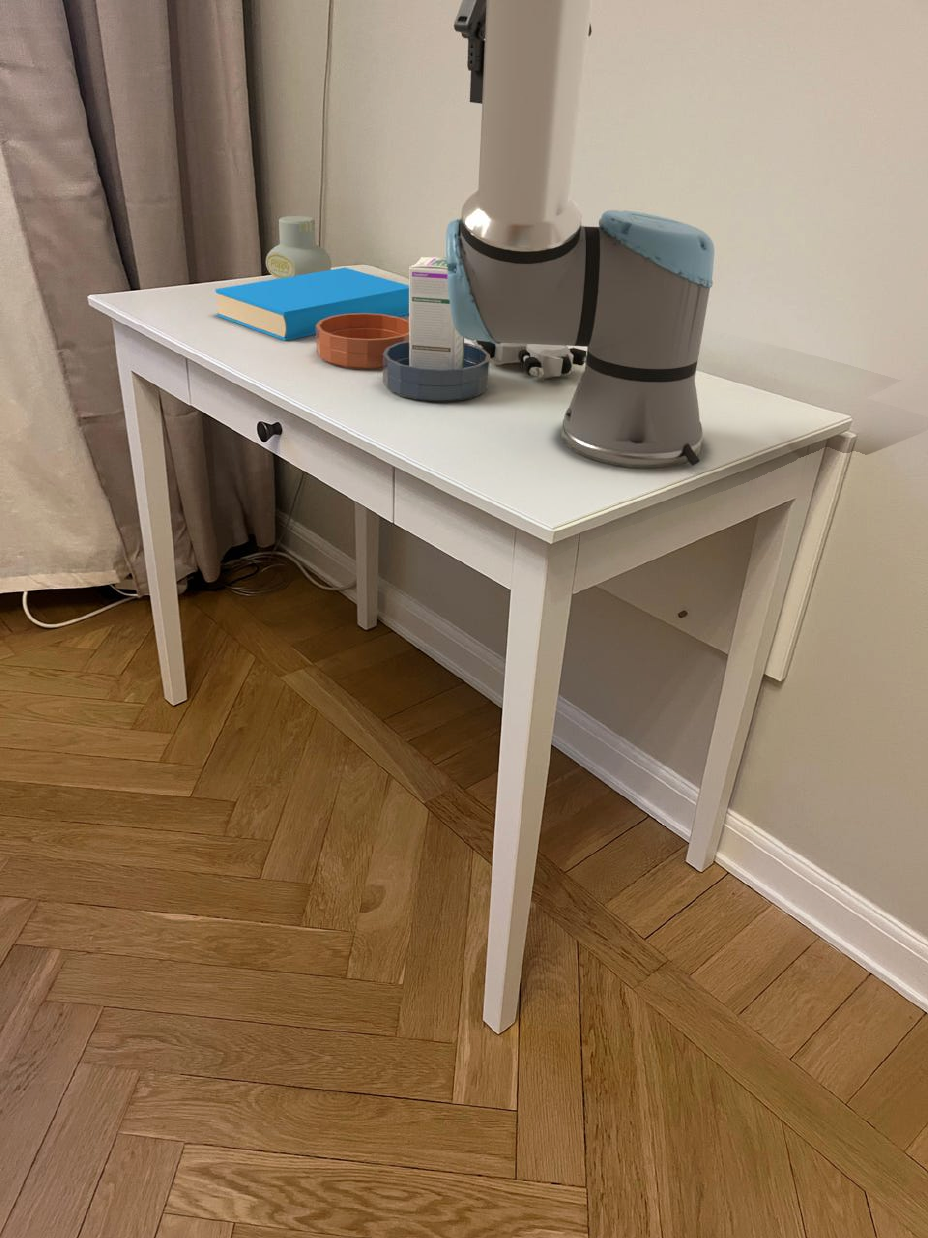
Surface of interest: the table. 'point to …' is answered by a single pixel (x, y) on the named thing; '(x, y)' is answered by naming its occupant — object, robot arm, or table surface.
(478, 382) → the slate bowl
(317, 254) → the air freshener
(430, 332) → the syrup box
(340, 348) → the terracotta bowl
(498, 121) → the robot arm
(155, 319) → the table surface
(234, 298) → the book
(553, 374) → the robot toy
